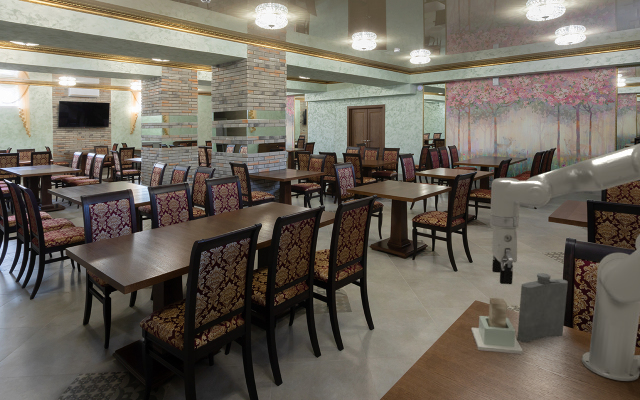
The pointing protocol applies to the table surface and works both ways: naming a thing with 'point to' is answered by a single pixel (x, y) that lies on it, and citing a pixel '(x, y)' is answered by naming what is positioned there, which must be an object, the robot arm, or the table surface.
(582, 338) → the table surface
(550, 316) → the hip flask
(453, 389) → the table surface
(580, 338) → the table surface
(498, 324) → the beech peg
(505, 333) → the socket holder
